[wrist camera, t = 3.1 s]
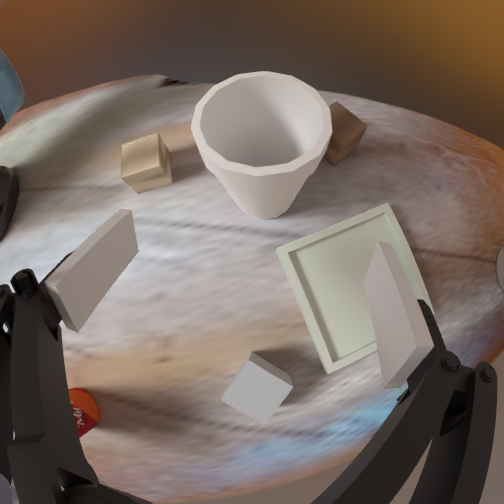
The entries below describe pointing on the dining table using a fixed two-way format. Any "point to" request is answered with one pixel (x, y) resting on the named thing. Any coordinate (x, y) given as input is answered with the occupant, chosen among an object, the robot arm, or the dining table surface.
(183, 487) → the dining table surface
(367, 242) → the tray
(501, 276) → the coffee cup
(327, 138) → the foam cup
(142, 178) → the beech block
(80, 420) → the paper cup
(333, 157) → the walnut block
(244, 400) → the grey painted block
